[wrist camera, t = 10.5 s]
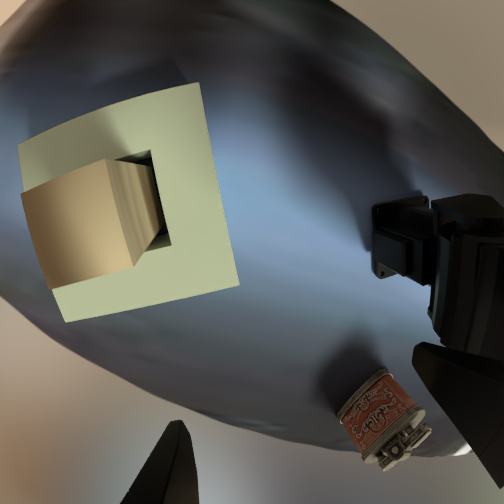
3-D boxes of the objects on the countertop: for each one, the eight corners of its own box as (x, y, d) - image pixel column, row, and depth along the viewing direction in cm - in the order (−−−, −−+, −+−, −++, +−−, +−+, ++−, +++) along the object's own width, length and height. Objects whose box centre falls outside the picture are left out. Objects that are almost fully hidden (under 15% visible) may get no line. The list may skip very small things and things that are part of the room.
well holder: (198, 100, 17) (198, 82, 13) (231, 264, 21) (239, 285, 17) (45, 148, 16) (17, 145, 12) (84, 298, 19) (65, 322, 15)
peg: (151, 166, 18) (105, 158, 8) (164, 222, 19) (133, 267, 10) (99, 183, 17) (20, 193, 8) (113, 237, 19) (49, 289, 9)
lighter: (348, 421, 29) (385, 480, 19) (331, 416, 28) (367, 481, 18) (394, 373, 28) (443, 426, 18) (379, 365, 27) (432, 424, 17)
